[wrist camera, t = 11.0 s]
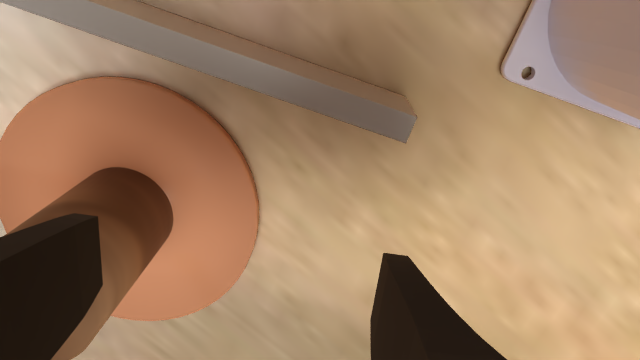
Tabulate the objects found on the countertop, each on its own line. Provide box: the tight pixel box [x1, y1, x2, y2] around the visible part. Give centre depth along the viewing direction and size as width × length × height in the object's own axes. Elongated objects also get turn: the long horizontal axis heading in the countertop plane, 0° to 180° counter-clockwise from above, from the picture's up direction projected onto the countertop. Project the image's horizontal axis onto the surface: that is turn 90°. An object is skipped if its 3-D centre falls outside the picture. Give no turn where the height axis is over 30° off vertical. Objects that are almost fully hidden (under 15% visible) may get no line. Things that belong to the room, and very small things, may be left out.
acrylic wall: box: [0, 0, 417, 143], centre depth 17 cm, size 20×1×4 cm, turn 71°
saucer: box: [0, 77, 259, 321], centre depth 21 cm, size 12×12×1 cm
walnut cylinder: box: [5, 167, 173, 360], centre depth 18 cm, size 4×4×7 cm
